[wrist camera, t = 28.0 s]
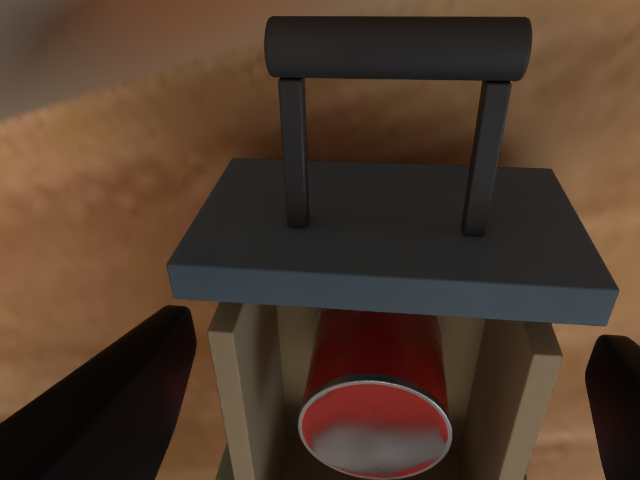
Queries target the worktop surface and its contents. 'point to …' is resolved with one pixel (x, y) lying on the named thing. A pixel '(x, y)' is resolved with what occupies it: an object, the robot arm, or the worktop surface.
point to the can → (376, 394)
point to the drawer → (391, 252)
